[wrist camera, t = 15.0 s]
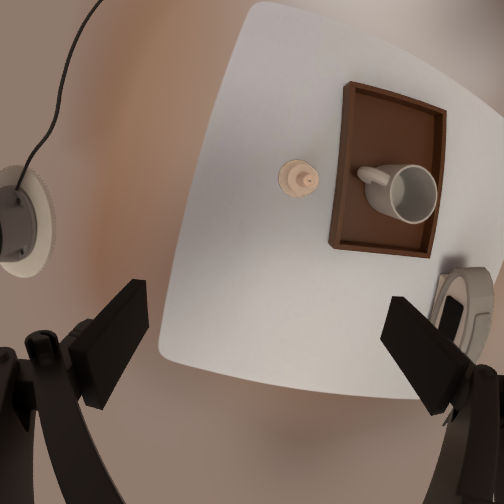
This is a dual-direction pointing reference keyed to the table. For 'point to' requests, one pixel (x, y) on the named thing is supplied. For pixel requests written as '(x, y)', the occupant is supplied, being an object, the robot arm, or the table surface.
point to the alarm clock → (465, 308)
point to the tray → (384, 153)
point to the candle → (298, 178)
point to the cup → (400, 191)
